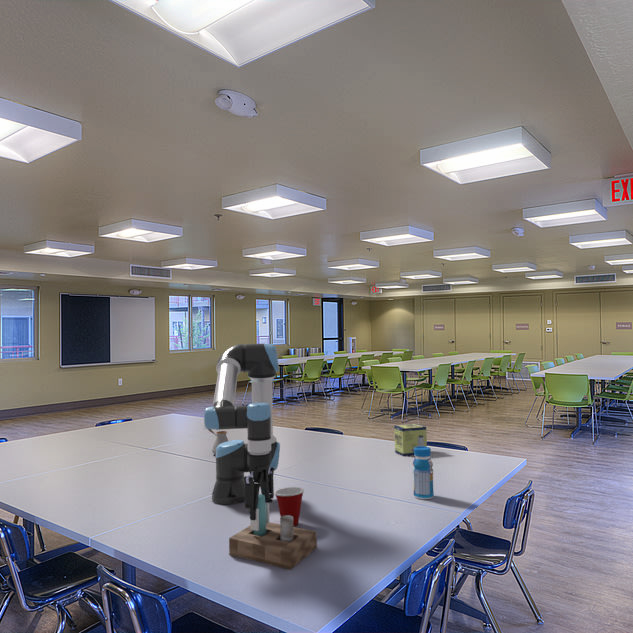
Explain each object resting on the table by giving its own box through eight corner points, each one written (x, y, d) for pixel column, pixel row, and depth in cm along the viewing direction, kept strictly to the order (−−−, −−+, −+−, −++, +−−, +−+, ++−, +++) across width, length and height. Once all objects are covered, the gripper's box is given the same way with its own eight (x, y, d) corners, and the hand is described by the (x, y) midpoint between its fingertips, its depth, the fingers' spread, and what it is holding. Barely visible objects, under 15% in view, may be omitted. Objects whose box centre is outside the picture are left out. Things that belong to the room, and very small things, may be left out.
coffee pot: (235, 453, 277) (235, 427, 278) (220, 457, 268) (220, 430, 269) (212, 449, 291) (212, 424, 292) (197, 452, 282) (196, 427, 282)
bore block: (259, 535, 160) (259, 502, 160) (316, 547, 149) (316, 512, 150) (229, 554, 146) (229, 518, 146) (290, 569, 135) (289, 530, 136)
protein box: (394, 452, 274) (393, 425, 275) (418, 450, 278) (417, 423, 279) (403, 456, 264) (402, 428, 265) (427, 454, 268) (426, 426, 269)
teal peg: (258, 541, 153) (257, 493, 153) (269, 543, 151) (267, 495, 151) (251, 546, 149) (249, 497, 150) (262, 548, 147) (260, 499, 148)
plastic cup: (292, 515, 177) (292, 483, 177) (310, 524, 169) (310, 490, 169) (268, 523, 170) (268, 489, 170) (286, 532, 162) (285, 496, 162)
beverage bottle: (419, 501, 191) (417, 450, 192) (409, 494, 199) (408, 446, 200) (438, 498, 193) (436, 449, 194) (427, 492, 201) (426, 444, 202)
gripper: (265, 445, 161) (266, 514, 160) (232, 457, 145) (232, 534, 144) (284, 447, 158) (285, 518, 156) (252, 459, 142) (252, 539, 140)
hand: (260, 526), depth 150 cm, fingers open, 5 cm apart
